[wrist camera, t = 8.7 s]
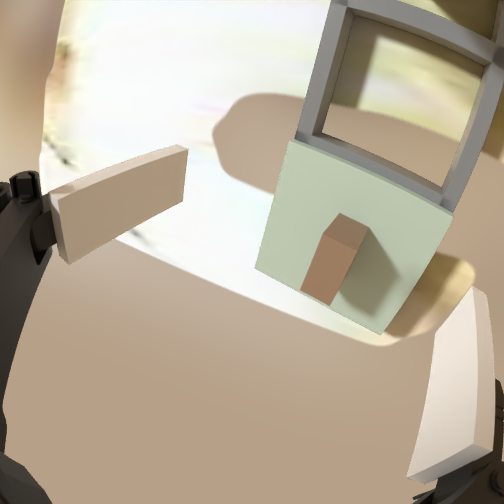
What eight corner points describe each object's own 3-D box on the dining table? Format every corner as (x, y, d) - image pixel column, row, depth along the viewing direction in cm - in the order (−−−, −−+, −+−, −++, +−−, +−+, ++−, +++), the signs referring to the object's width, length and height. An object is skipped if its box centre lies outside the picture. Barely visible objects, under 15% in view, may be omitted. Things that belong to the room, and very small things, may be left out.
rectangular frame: (365, -97, 12) (358, -111, 10) (515, -47, 7) (521, -58, 5) (269, 258, 39) (257, 270, 37) (383, 318, 34) (378, 334, 32)
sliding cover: (294, 139, 27) (262, 149, 23) (452, 213, 23) (458, 241, 18) (259, 263, 36) (230, 291, 32) (382, 328, 31) (369, 368, 27)
